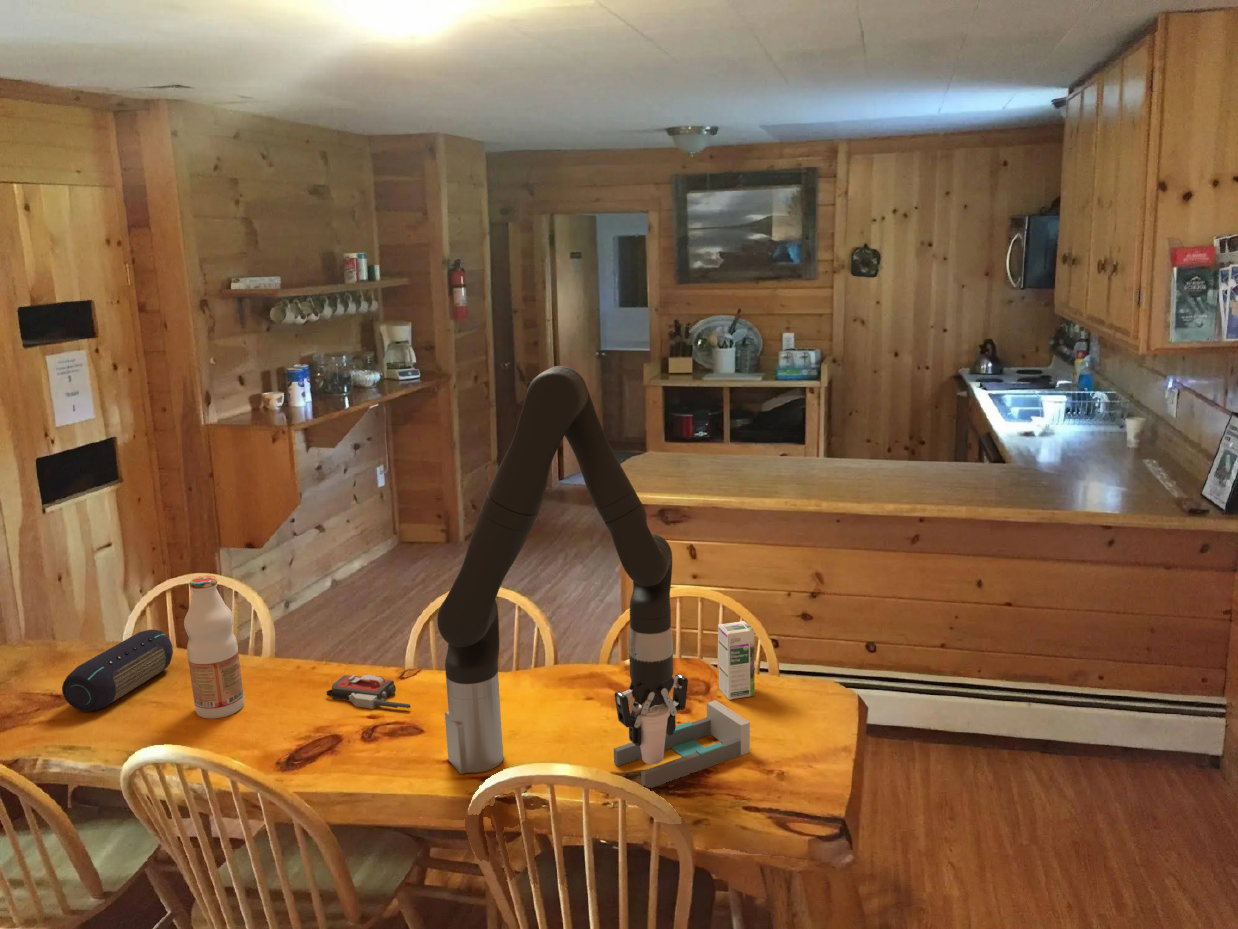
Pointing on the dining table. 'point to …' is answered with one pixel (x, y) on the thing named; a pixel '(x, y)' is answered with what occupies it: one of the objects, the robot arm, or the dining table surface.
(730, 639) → the syrup box
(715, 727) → the guide channel
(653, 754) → the smoothie
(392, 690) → the walkie-talkie
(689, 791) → the dining table surface
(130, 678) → the portable speaker
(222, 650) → the fruit juice
